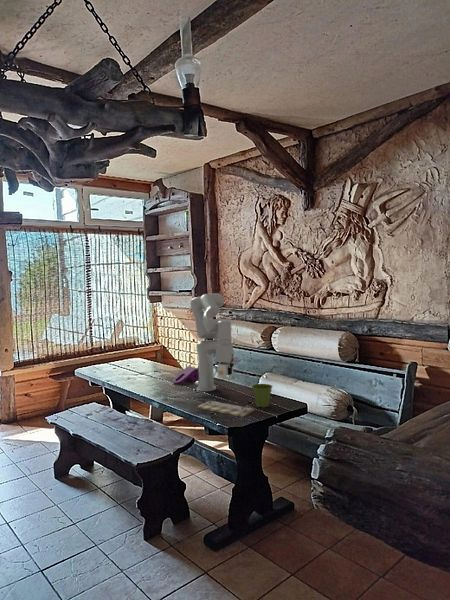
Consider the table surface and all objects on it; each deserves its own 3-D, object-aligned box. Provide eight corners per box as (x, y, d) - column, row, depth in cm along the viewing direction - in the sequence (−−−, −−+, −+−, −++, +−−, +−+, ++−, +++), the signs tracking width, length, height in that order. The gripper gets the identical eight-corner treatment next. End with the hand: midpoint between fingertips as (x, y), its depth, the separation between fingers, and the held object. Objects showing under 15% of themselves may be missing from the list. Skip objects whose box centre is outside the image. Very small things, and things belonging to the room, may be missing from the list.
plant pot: (277, 405, 258) (276, 385, 257) (264, 410, 249) (264, 390, 248) (260, 401, 265) (260, 382, 265) (247, 406, 257) (247, 386, 256)
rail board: (197, 407, 256) (197, 406, 256) (210, 402, 266) (210, 400, 266) (242, 416, 239) (242, 415, 239) (254, 410, 248) (254, 409, 248)
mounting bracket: (182, 393, 308) (200, 377, 318) (178, 383, 305) (196, 367, 315) (174, 391, 315) (192, 375, 325) (169, 381, 311) (187, 365, 322)
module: (217, 377, 257) (216, 363, 257) (226, 374, 264) (226, 361, 264) (224, 378, 254) (224, 364, 254) (233, 375, 262) (233, 361, 261)
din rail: (205, 404, 258) (205, 401, 258) (208, 403, 261) (208, 400, 261) (243, 412, 243) (243, 409, 243) (247, 410, 246) (247, 407, 246)
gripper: (208, 342, 260) (209, 373, 261) (233, 344, 251) (234, 376, 252) (216, 340, 266) (217, 371, 267) (241, 342, 257) (241, 374, 258)
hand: (225, 373), depth 259 cm, fingers closed on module, 5 cm apart
